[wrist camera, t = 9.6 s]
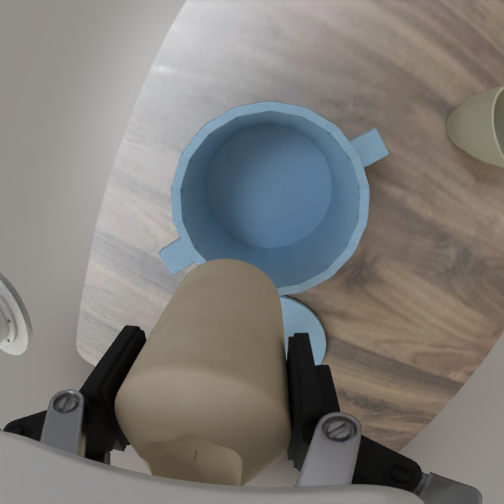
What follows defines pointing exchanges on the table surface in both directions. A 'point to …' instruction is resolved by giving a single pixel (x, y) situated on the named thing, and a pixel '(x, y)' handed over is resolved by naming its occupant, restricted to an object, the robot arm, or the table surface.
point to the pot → (272, 194)
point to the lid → (303, 326)
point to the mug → (480, 126)
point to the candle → (211, 380)
